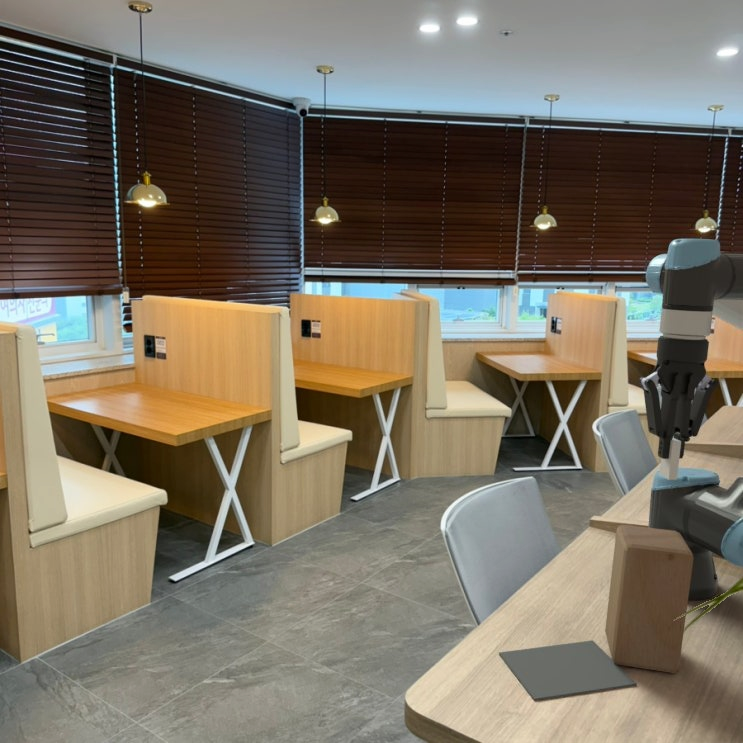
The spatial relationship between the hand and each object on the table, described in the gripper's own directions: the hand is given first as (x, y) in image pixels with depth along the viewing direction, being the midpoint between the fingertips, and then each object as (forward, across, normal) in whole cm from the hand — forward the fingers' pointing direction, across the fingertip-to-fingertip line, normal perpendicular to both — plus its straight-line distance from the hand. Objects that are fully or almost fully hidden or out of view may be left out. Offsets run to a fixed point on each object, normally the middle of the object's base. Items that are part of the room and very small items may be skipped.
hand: (668, 476), depth 115 cm
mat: (+28, +20, +9) cm, 35 cm away
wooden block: (+28, +6, +7) cm, 29 cm away
